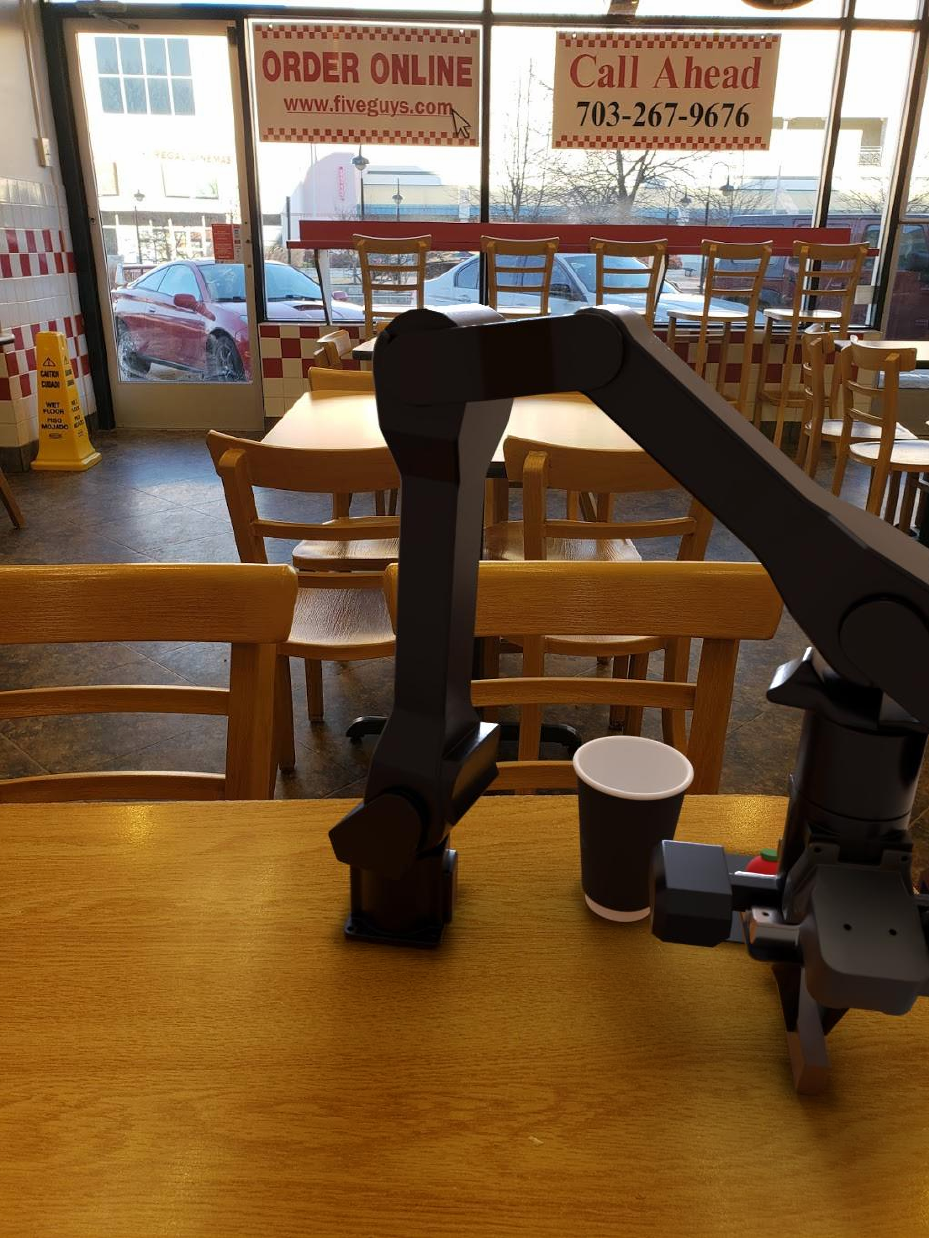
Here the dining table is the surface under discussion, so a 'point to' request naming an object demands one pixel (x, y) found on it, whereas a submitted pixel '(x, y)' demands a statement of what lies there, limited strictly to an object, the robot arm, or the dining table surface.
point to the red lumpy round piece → (764, 863)
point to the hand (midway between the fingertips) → (803, 1028)
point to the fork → (808, 1046)
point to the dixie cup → (625, 818)
